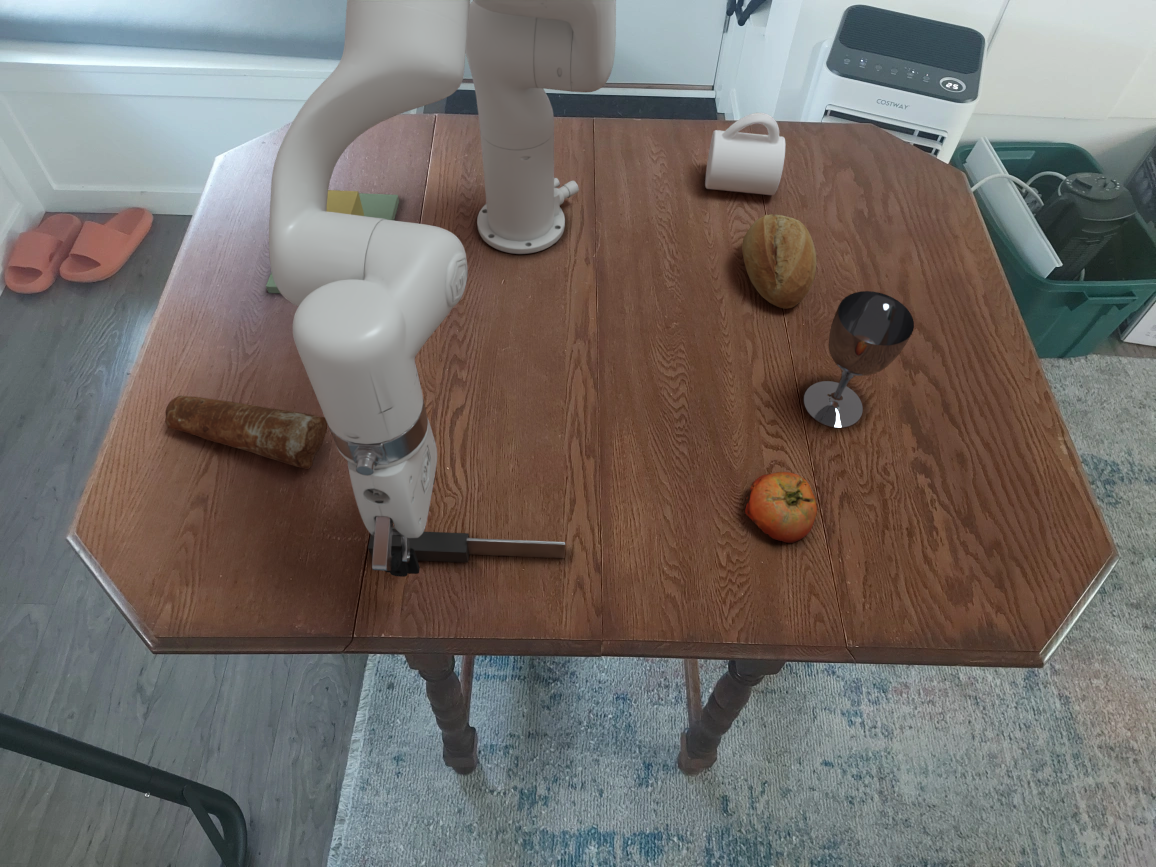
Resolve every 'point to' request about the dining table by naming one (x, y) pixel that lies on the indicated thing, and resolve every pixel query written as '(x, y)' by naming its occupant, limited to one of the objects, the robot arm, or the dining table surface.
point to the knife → (473, 547)
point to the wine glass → (858, 353)
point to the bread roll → (780, 259)
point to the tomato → (782, 506)
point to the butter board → (369, 210)
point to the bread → (250, 428)
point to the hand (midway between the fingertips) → (411, 525)
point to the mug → (746, 157)
